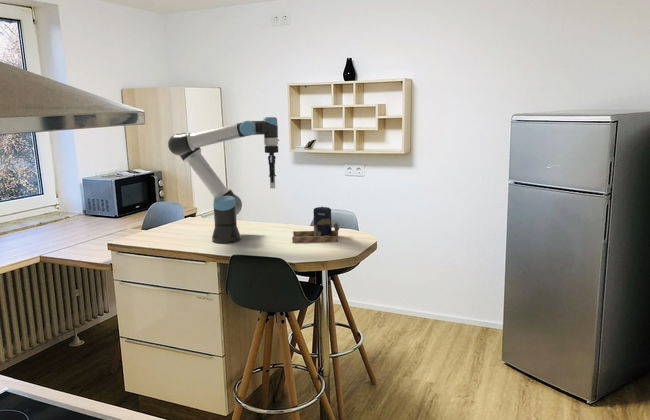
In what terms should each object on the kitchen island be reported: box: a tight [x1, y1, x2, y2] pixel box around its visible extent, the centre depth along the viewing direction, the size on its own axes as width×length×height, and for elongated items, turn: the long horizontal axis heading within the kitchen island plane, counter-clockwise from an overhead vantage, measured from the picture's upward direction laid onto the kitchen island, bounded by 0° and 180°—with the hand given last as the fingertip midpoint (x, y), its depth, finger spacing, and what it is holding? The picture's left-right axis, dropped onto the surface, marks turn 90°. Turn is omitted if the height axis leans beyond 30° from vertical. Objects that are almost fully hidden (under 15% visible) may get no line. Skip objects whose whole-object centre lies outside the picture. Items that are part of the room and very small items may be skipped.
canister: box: [313, 206, 333, 236], centre depth 281 cm, size 10×10×18 cm
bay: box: [291, 220, 340, 244], centre depth 282 cm, size 25×15×8 cm, turn 92°
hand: (272, 188), depth 291 cm, fingers closed
